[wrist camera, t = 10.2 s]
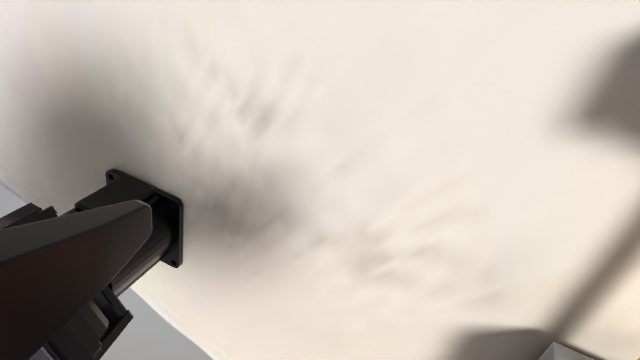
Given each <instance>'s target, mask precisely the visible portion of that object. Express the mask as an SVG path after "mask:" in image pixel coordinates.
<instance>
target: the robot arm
mask: <svg viewBox="0 0 640 360" xmlns="http://www.w3.org/2000/svg"><path fill="white" fill-rule="evenodd" d="M106 182H107V186H105V187H103V188H101V189H100V190H98V191H96V192H94V193H92V194H91V195H89V196H87V197H85V198H84V199H82V200H80V201H78V202H77V203H76V204H75V208H73V209H72V210H70V211H68V212H66V213H65V214H63V215H61V216H59V217H58V216H57V215H56V213H57V212H56V210H55V209H54V208H53V206H50V207H48V208H46V209H44V210H42V209H41V207H40V208H39V207H37V206H36V205H34V204H32V203H29V204H27V205H25V206H23V207H21V208H20V209H17V210H15V211H13V212H12V213H10V214H8V215H6V216H4V217H2V218H0V360H100V358H101V357H102V356H103V355H104V353H105V352H106V351H107V350H108V348H109V347H110V346H111V345H112V343H113V342H114V341H115V340H116V338H117V337H118V336H119V335H120V333H121V332H122V331H123V330H124V328H125V327H126V326H127V325H128V323H129V322H130V321H131V319H132V318H133V315H132V314H131V312H130V311H129V310H126V308H125V307H124V306H123V304H122V303H121V301H120V300H119V299H118V296H119V295H120V294H122V293H123V292H124V291H125V290H126V289H128V288H129V287H130V286H131V285H132V284H133V283H135V282H136V281H137V280H138V279H139V278H140V277H142V276H143V275H144V274H145V273H146V272H147V271H149V270H150V269H151V268H152V267H153V266H154V265H156V264H157V263H158V262H159V261H162V262H164V263H166V264H168V265H170V266H172V267H174V268H178V267H179V266H180V265H181V264H182V262H183V203H182V202H181V200H180V199H178V198H176V197H174V196H172V195H170V194H168V193H166V192H163V191H161V190H159V189H157V188H155V187H153V186H150V185H148V184H146V183H144V182H142V181H140V180H137V179H135V178H133V177H131V176H129V175H127V174H124V173H122V172H120V171H118V170H116V169H110V170H108V171H107V172H106Z"/></svg>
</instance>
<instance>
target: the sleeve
mask: <svg viewBox="0 0 640 360" xmlns="http://www.w3.org/2000/svg"><path fill="white" fill-rule="evenodd" d="M538 360H594V359H592V358H590V357H587V356H585V355H583V354H581V353H578V352H576V351H574V350H572V349H570V348H567V347H565V346H563V345H561V344H558V343H556V342H554V341H553V342H552V343H551V344H550V346H549V347H548V348H547V349H546V350H545V352H544V353H543V354H542V355H541V356H540V357H539V359H538Z"/></svg>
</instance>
